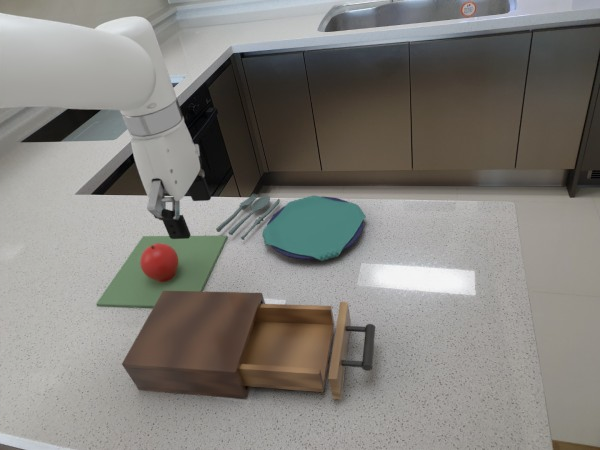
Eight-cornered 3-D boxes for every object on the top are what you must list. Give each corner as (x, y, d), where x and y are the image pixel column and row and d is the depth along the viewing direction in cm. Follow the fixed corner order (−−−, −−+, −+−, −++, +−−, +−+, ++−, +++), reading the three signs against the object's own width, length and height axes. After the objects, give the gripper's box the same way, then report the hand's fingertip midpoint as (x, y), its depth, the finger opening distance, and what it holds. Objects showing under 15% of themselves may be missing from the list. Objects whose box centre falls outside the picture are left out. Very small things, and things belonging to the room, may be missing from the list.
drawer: (377, 323, 72) (375, 302, 69) (372, 402, 61) (369, 381, 59) (252, 318, 77) (245, 298, 74) (228, 390, 67) (219, 370, 64)
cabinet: (270, 320, 77) (262, 292, 73) (246, 399, 66) (235, 372, 62) (175, 316, 81) (163, 290, 77) (138, 390, 70) (121, 364, 66)
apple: (174, 288, 86) (161, 258, 82) (141, 287, 88) (126, 258, 84) (188, 262, 92) (176, 233, 87) (157, 262, 94) (143, 233, 89)
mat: (193, 309, 82) (192, 307, 82) (97, 306, 87) (95, 303, 87) (227, 237, 97) (227, 235, 97) (144, 238, 102) (143, 236, 102)
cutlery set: (336, 277, 82) (335, 267, 81) (209, 239, 97) (206, 230, 95) (380, 214, 95) (379, 205, 94) (261, 188, 109) (260, 180, 108)
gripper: (154, 94, 70) (189, 188, 80) (97, 150, 56) (147, 254, 67) (200, 89, 68) (229, 186, 78) (152, 146, 55) (195, 254, 65)
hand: (192, 217), depth 72 cm, fingers open, 9 cm apart
